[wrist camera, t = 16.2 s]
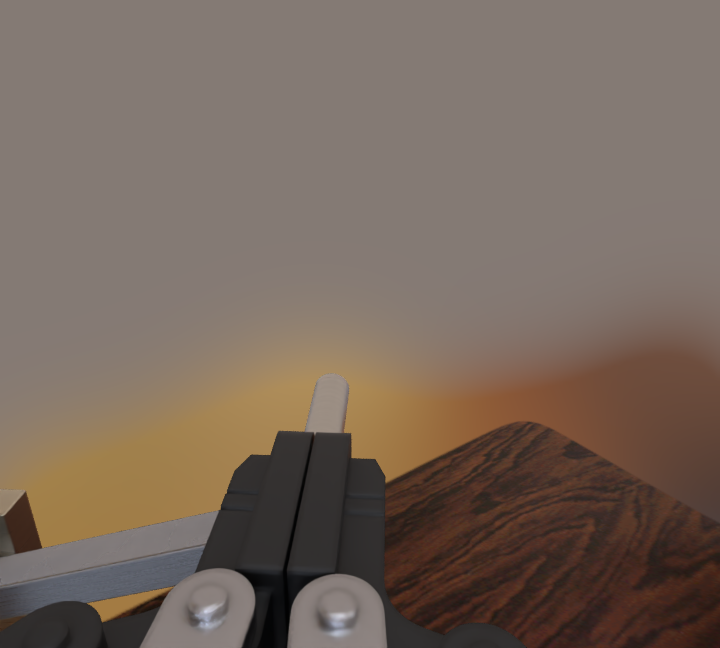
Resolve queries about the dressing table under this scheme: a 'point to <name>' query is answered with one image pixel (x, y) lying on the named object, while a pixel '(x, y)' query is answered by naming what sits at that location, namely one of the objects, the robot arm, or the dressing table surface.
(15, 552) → the bracket
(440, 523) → the dressing table surface
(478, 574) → the dressing table surface
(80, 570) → the tap lever
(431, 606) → the dressing table surface
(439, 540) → the dressing table surface
